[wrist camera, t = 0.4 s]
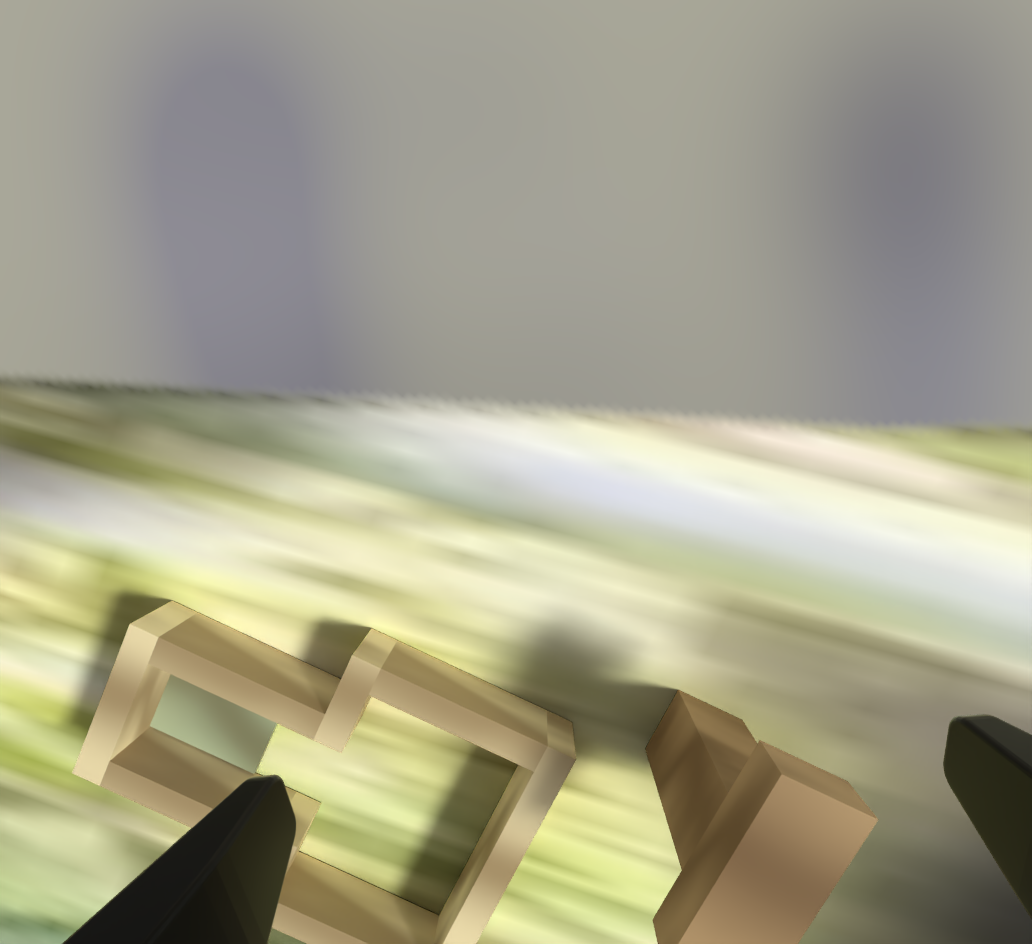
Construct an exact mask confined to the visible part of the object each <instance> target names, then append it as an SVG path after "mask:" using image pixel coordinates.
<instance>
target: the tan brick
mask: <svg viewBox="0 0 1032 944" xmlns="http://www.w3.org/2000/svg"><path fill="white" fill-rule="evenodd" d="M645 750H646V753H647V757H648V760H649V763H650V766H651V770H652V773H653V776H654V780H655V783H656V786H657V790H658V793H659V796H660V799H661V803H662V806H663V809H664V813H665V816H666V819H667V823H668V826H669V829H670V832H671V836H672V839H673V842H674V846H675V849H676V852H677V855H678V859H679V862H680V865H681V869H682V871H681V873H680V875H679V876H678V878H677V880H676V881H675V883H674V885H673V886H672V888H671V890H670V891H669V893H668V895H667V896H666V898H665V900H664V901H663V903H662V905H661V906H660V908H659V910H658V911H657V913H656V915H655V917H654V918H653V923H654V928H655V932H656V937H657V942H658V944H798V943H799V941H800V940H801V938H802V936H803V935H804V933H805V932H806V930H807V929H808V927H809V926H810V924H811V923H812V921H813V920H814V918H815V916H816V915H817V913H818V912H819V910H820V909H821V907H822V906H823V904H824V903H825V901H826V900H827V898H828V896H829V895H830V893H831V892H832V890H833V889H834V887H835V886H836V884H837V883H838V881H839V880H840V878H841V876H842V875H843V873H844V872H845V870H846V869H847V867H848V866H849V864H850V863H851V861H852V860H853V858H854V856H855V855H856V853H857V852H858V850H859V849H860V847H861V846H862V844H863V843H864V841H865V840H866V838H867V836H868V835H869V833H870V832H871V830H872V829H873V827H874V826H875V824H876V823H877V821H878V818H877V817H876V816H875V815H874V813H873V812H872V811H871V810H870V808H869V807H868V806H867V805H866V804H865V802H864V801H863V800H862V799H861V797H860V796H859V795H858V794H857V792H856V791H855V790H854V789H853V787H852V786H851V785H850V784H849V782H848V781H846V780H843V779H841V778H839V777H837V776H835V775H833V774H831V773H829V772H826V771H824V770H822V769H820V768H818V767H816V766H814V765H811V764H809V763H807V762H805V761H803V760H801V759H799V758H797V757H794V756H792V755H790V754H788V753H786V752H784V751H782V750H780V749H777V748H775V747H773V746H771V745H769V744H767V743H765V742H763V741H759V742H758V744H757V742H756V741H755V739H754V738H753V736H752V734H751V733H750V731H749V730H748V728H747V727H746V725H745V723H744V722H743V720H741V719H739V718H737V717H735V716H733V715H731V714H729V713H726V712H724V711H722V710H720V709H718V708H716V707H714V706H712V705H709V704H707V703H705V702H703V701H701V700H699V699H697V698H695V697H692V696H690V695H688V694H686V693H684V692H682V691H680V690H678V691H677V693H676V695H675V696H674V698H673V700H672V702H671V704H670V705H669V707H668V709H667V711H666V712H665V714H664V716H663V718H662V720H661V721H660V723H659V725H658V727H657V728H656V730H655V732H654V734H653V736H652V737H651V739H650V741H649V743H648V744H647V746H646V748H645Z"/></svg>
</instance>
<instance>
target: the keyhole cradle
mask: <svg viewBox="0 0 1032 944" xmlns="http://www.w3.org/2000/svg"><path fill="white" fill-rule="evenodd" d="M371 696H372V697H374V698H376V699H378V700H380V701H383V702H385V703H387V704H389V705H391V706H393V707H395V708H398V709H400V710H402V711H404V712H406V713H408V714H410V715H413V716H415V717H417V718H419V719H421V720H423V721H426V722H428V723H430V724H432V725H434V726H436V727H438V728H441V729H443V730H445V731H447V732H449V733H451V734H453V735H456V736H458V737H460V738H462V739H464V740H466V741H468V742H471V743H473V744H475V745H477V746H479V747H481V748H484V749H486V750H488V751H490V752H492V753H494V754H496V755H499V756H501V757H503V758H505V759H507V760H509V761H511V762H514V763H516V764H518V766H517V768H516V770H515V772H514V774H513V776H512V778H511V780H510V781H509V783H508V785H507V787H506V789H505V791H504V793H503V795H502V797H501V799H500V800H499V802H498V804H497V806H496V808H495V810H494V812H493V814H492V816H491V818H490V820H489V821H488V823H487V825H486V827H485V829H484V831H483V833H482V835H481V837H480V839H479V840H478V842H477V844H476V846H475V848H474V850H473V852H472V854H471V856H470V858H469V860H468V861H467V863H466V865H465V867H464V869H463V871H462V873H461V875H460V877H459V879H458V880H457V882H456V884H455V886H454V888H453V890H452V892H451V894H450V896H449V898H448V899H447V901H446V903H445V905H444V907H443V909H442V911H441V913H440V915H437V914H434V913H432V912H430V911H428V910H426V909H424V908H421V907H419V906H417V905H415V904H413V903H410V902H408V901H406V900H404V899H402V898H400V897H397V896H395V895H393V894H391V893H389V892H386V891H384V890H382V889H380V888H378V887H376V886H373V885H371V884H369V883H367V882H365V881H362V880H360V879H358V878H356V877H354V876H351V875H349V874H347V873H345V872H343V871H341V870H338V869H336V868H334V867H332V866H330V865H327V864H325V863H323V862H321V861H319V860H317V859H314V858H312V857H310V856H308V855H306V854H303V853H301V852H299V849H300V847H301V845H302V843H303V841H304V839H305V837H306V834H307V832H308V830H309V828H310V826H311V824H312V822H313V819H314V817H315V815H316V813H317V811H318V809H319V807H320V805H321V803H320V802H318V801H316V800H314V799H312V798H309V797H307V796H305V795H303V794H301V793H299V792H296V791H294V790H292V789H290V788H288V787H285V788H286V790H287V793H288V796H289V799H290V802H291V805H292V808H293V811H294V814H295V818H296V834H295V839H294V843H293V847H292V851H291V855H290V859H289V863H288V866H287V870H286V874H285V878H284V882H283V886H282V890H281V894H280V898H279V902H278V905H277V909H276V913H275V917H274V921H273V925H272V928H274V929H276V930H278V931H281V932H283V933H285V934H287V935H289V936H292V937H294V938H296V939H298V940H300V941H303V942H305V943H307V944H476V943H477V941H478V939H479V938H480V936H481V934H482V932H483V930H484V928H485V927H486V925H487V923H488V921H489V919H490V917H491V915H492V914H493V912H494V910H495V908H496V906H497V904H498V903H499V901H500V899H501V897H502V895H503V893H504V892H505V890H506V888H507V886H508V884H509V882H510V880H511V879H512V877H513V875H514V873H515V871H516V869H517V868H518V866H519V864H520V862H521V860H522V858H523V856H524V855H525V853H526V851H527V849H528V847H529V845H530V844H531V842H532V840H533V838H534V836H535V834H536V833H537V831H538V829H539V827H540V825H541V823H542V821H543V820H544V818H545V816H546V814H547V812H548V810H549V809H550V807H551V805H552V803H553V801H554V799H555V798H556V796H557V794H558V792H559V790H560V788H561V786H562V785H563V783H564V781H565V779H566V777H567V775H568V774H569V772H570V770H571V768H572V766H573V764H574V762H575V761H576V754H575V744H574V734H573V724H572V722H571V721H569V720H566V719H564V718H562V717H560V716H558V715H556V714H554V713H551V712H549V711H547V710H545V709H543V708H541V707H539V706H536V705H534V704H532V703H530V702H528V701H526V700H524V699H522V698H519V697H517V696H515V695H513V694H511V693H509V692H507V691H504V690H502V689H500V688H498V687H496V686H494V685H492V684H489V683H487V682H485V681H483V680H481V679H479V678H477V677H475V676H472V675H470V674H468V673H466V672H464V671H462V670H460V669H457V668H455V667H453V666H451V665H449V664H447V663H445V662H442V661H440V660H438V659H436V658H434V657H432V656H430V655H428V654H425V653H423V652H421V651H419V650H417V649H415V648H413V647H410V646H408V645H406V644H404V643H402V642H400V641H398V640H395V639H393V638H391V637H389V636H387V635H385V634H383V633H380V632H378V631H376V630H374V629H371V630H370V631H369V633H368V634H367V635H366V637H365V638H364V639H363V641H362V642H361V644H360V645H359V646H358V648H357V649H356V650H355V652H354V653H353V655H352V656H351V659H350V661H349V663H348V665H347V667H346V670H345V672H344V674H343V676H342V678H341V679H339V678H337V677H335V676H333V675H331V674H329V673H327V672H324V671H322V670H320V669H318V668H316V667H314V666H311V665H309V664H307V663H305V662H303V661H301V660H299V659H296V658H294V657H292V656H290V655H288V654H286V653H284V652H281V651H279V650H277V649H275V648H273V647H271V646H269V645H266V644H264V643H262V642H260V641H258V640H256V639H253V638H251V637H249V636H247V635H245V634H243V633H241V632H238V631H236V630H234V629H232V628H230V627H228V626H226V625H223V624H221V623H219V622H217V621H215V620H213V619H210V618H208V617H206V616H204V615H202V614H200V613H198V612H195V611H193V610H191V609H189V608H187V607H185V606H183V605H180V604H178V603H176V602H174V601H170V602H169V603H167V604H165V605H163V606H161V607H160V608H158V609H156V610H154V611H152V612H150V613H149V614H147V615H145V616H143V617H141V618H139V619H138V620H136V621H134V622H132V623H130V624H129V627H128V630H127V632H126V635H125V637H124V640H123V643H122V645H121V648H120V650H119V653H118V656H117V658H116V661H115V663H114V666H113V669H112V671H111V674H110V676H109V679H108V682H107V684H106V687H105V689H104V692H103V695H102V697H101V700H100V702H99V705H98V707H97V710H96V713H95V715H94V718H93V720H92V723H91V726H90V728H89V731H88V733H87V736H86V739H85V741H84V744H83V746H82V749H81V752H80V754H79V757H78V759H77V762H76V765H75V767H74V770H73V772H72V773H73V774H75V775H77V776H79V777H81V778H84V779H86V780H88V781H90V782H92V783H95V784H97V785H99V786H101V787H103V788H106V789H108V790H110V791H112V792H114V793H116V794H119V795H121V796H123V797H125V798H127V799H130V800H132V801H134V802H136V803H138V804H141V805H143V806H145V807H147V808H149V809H151V810H154V811H156V812H158V813H160V814H162V815H165V816H167V817H169V818H171V819H173V820H176V821H178V822H180V823H182V824H184V825H186V826H189V827H191V828H192V827H193V826H195V825H196V824H197V823H198V822H199V821H200V820H201V819H202V818H204V817H205V816H206V815H207V814H208V813H209V812H210V811H211V810H213V809H214V808H215V807H216V806H217V805H218V804H219V803H220V802H221V801H223V800H224V799H225V798H226V797H227V796H228V795H229V794H230V793H232V792H233V791H234V790H235V789H236V788H237V787H238V786H239V785H241V784H242V783H243V782H244V781H245V780H247V779H249V778H251V777H255V776H262V775H259V774H257V773H255V772H256V771H257V768H258V766H259V764H260V762H261V759H262V757H263V755H264V753H265V750H266V748H267V746H268V744H269V741H270V739H271V737H272V735H273V732H274V730H275V728H276V725H277V724H280V725H282V726H284V727H286V728H288V729H290V730H293V731H295V732H297V733H299V734H301V735H303V736H306V737H308V738H310V739H312V740H314V741H316V742H319V743H321V744H323V745H325V746H327V747H329V748H332V749H334V750H336V751H338V752H340V753H342V751H343V749H344V747H345V746H346V744H347V742H348V740H349V739H350V737H351V735H352V733H353V731H354V730H355V728H356V726H357V724H358V722H359V721H360V719H361V717H362V715H363V713H364V711H365V709H366V706H367V704H368V702H369V700H370V698H371Z"/></svg>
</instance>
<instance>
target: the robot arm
mask: <svg viewBox="0 0 1032 944" xmlns="http://www.w3.org/2000/svg"><path fill="white" fill-rule="evenodd" d="M943 767H944V773H945V776H946V779H947V781H948V783H949V785H950V787H951V789H952V791H953V792H954V794H955V795H956V797H957V799H958V800H959V802H960V804H961V805H962V807H963V809H964V810H965V812H966V813H967V815H968V817H969V818H970V820H971V822H972V823H973V825H974V827H975V828H976V830H977V831H978V833H979V835H980V836H981V838H982V840H983V841H984V843H985V845H986V846H987V848H988V850H989V851H990V853H991V854H992V856H993V858H994V859H995V861H996V863H997V864H998V866H999V868H1000V869H1001V871H1002V872H1003V874H1004V876H1005V877H1006V879H1007V881H1008V882H1009V884H1010V886H1011V887H1012V889H1013V890H1014V892H1015V894H1016V895H1017V897H1018V899H1019V900H1020V902H1021V903H1022V905H1023V906H1024V908H1025V909H1026V911H1027V912H1028V914H1029V916H1030V917H1031V919H1032V735H1031V734H1029V733H1027V732H1025V731H1023V730H1021V729H1019V728H1017V727H1015V726H1013V725H1011V724H1009V723H1007V722H1005V721H1003V720H1001V719H999V718H996V717H994V716H991V715H987V714H977V715H965V716H957V717H954V718H953V719H952V720H951V722H950V724H949V729H948V735H947V742H946V748H945V755H944V761H943ZM295 834H296V818H295V814H294V811H293V808H292V805H291V802H290V799H289V796H288V793H287V790H286V788H285V785H284V782H283V780H282V778H280V777H279V776H278V775H267V776H255V777H251V778H249V779H247V780H245V781H244V782H243V783H242V784H241V785H239V786H238V787H237V788H236V789H235V790H234V791H233V792H232V793H230V794H229V795H228V796H227V797H226V798H225V799H224V800H223V801H221V802H220V803H219V804H218V805H217V806H216V807H215V808H214V809H213V810H211V811H210V812H209V813H208V814H207V815H206V816H205V817H204V818H202V819H201V820H200V821H199V822H198V823H197V824H196V825H195V826H193V827H192V828H191V829H190V830H189V831H188V832H187V833H186V834H184V835H183V836H182V837H181V838H180V839H179V840H178V841H177V842H176V843H174V844H173V845H172V846H171V847H170V848H169V849H168V850H167V851H165V852H164V853H163V854H162V855H161V856H160V857H159V858H158V859H156V860H155V861H154V862H153V863H152V864H151V865H150V866H149V867H147V868H146V869H145V870H144V871H143V872H142V873H141V874H140V875H138V876H137V877H136V878H135V879H134V880H133V881H132V882H131V883H130V884H128V885H127V886H126V887H125V888H124V889H123V890H122V891H121V892H119V893H118V894H117V895H116V896H115V897H114V898H113V899H112V900H110V901H109V902H108V903H107V904H106V905H105V906H104V907H103V908H101V909H100V910H99V911H98V912H97V913H96V914H95V915H94V916H93V917H91V918H90V919H89V920H88V921H87V922H86V923H85V924H84V925H82V926H81V927H80V928H79V929H78V930H77V931H76V932H75V933H73V934H72V935H71V936H70V937H69V938H68V939H67V940H66V941H64V942H63V943H62V944H268V941H269V937H270V933H271V929H272V925H273V921H274V917H275V913H276V909H277V905H278V902H279V898H280V894H281V890H282V886H283V882H284V878H285V874H286V870H287V866H288V863H289V859H290V855H291V851H292V847H293V843H294V839H295Z"/></svg>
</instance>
